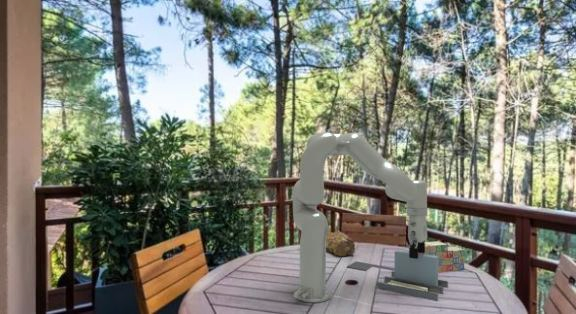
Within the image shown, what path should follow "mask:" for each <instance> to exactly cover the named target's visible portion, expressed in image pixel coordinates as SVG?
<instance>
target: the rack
mask: <svg viewBox="0 0 576 314" xmlns="http://www.w3.org/2000/svg"><path fill="white" fill-rule="evenodd" d="M390 276H391V277H390ZM390 276H384V282H381V281H377V282H376V288H377V289H379V290H385V291H390V292H394V293H398V294H402V295H407V296H413V297H416V298H421V299H426V300H431V301H435V302H438V301H439V294H440V295H443V294H444V288H447V289H448V288H449V281H448V280H442V279H438V286H434V285H428V284H423V283H418V282H413V281H408V280H403V279H398V278H394V277H395V271H392V270H391V275H390ZM391 280H392V281H397V282H402V283H406V284H411V285H416V286H420V287H425V288H428V292H426V291H421V290H416V289H411V288H406V287H402V286H397V285H392V284H387V283H388V282H390V281H391Z"/></svg>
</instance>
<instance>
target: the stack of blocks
mask: <svg viewBox="0 0 576 314" xmlns="http://www.w3.org/2000/svg"><path fill="white" fill-rule="evenodd" d="M418 253H420V252H418ZM420 254H427V255H433V256H438V274H440V273H447V272H454V271H464V270H465V249H463V248H460V247H457V246H448V244H447V243H444V242H442V241H439V240H438V241H437V240H436V241H428V242H426V241H425V253H420Z"/></svg>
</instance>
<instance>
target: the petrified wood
mask: <svg viewBox="0 0 576 314" xmlns="http://www.w3.org/2000/svg"><path fill="white" fill-rule="evenodd" d="M355 247H356V246H355V241H354V240H353V239H352V238H350V237H349V236H348V235H347V234H345V233H344V232H342V231H334V232H327V238H326V250H328V251H329V252H330V253H331V254H334V255H335V256H339V257H341V258H342V257H346V256H348V255H353V254H354V253H355V252H356V251H355Z"/></svg>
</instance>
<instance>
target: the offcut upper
mask: <svg viewBox="0 0 576 314" xmlns="http://www.w3.org/2000/svg"><path fill="white" fill-rule="evenodd" d="M387 284H392V285H397V286H402V287H406V288H411V289H416V290H421V291H426V292H429V291H428V288H425V287H420V286H416V285H411V284H406V283H402V282H397V281H392V280H391V281H390V282H388V283H387Z"/></svg>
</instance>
